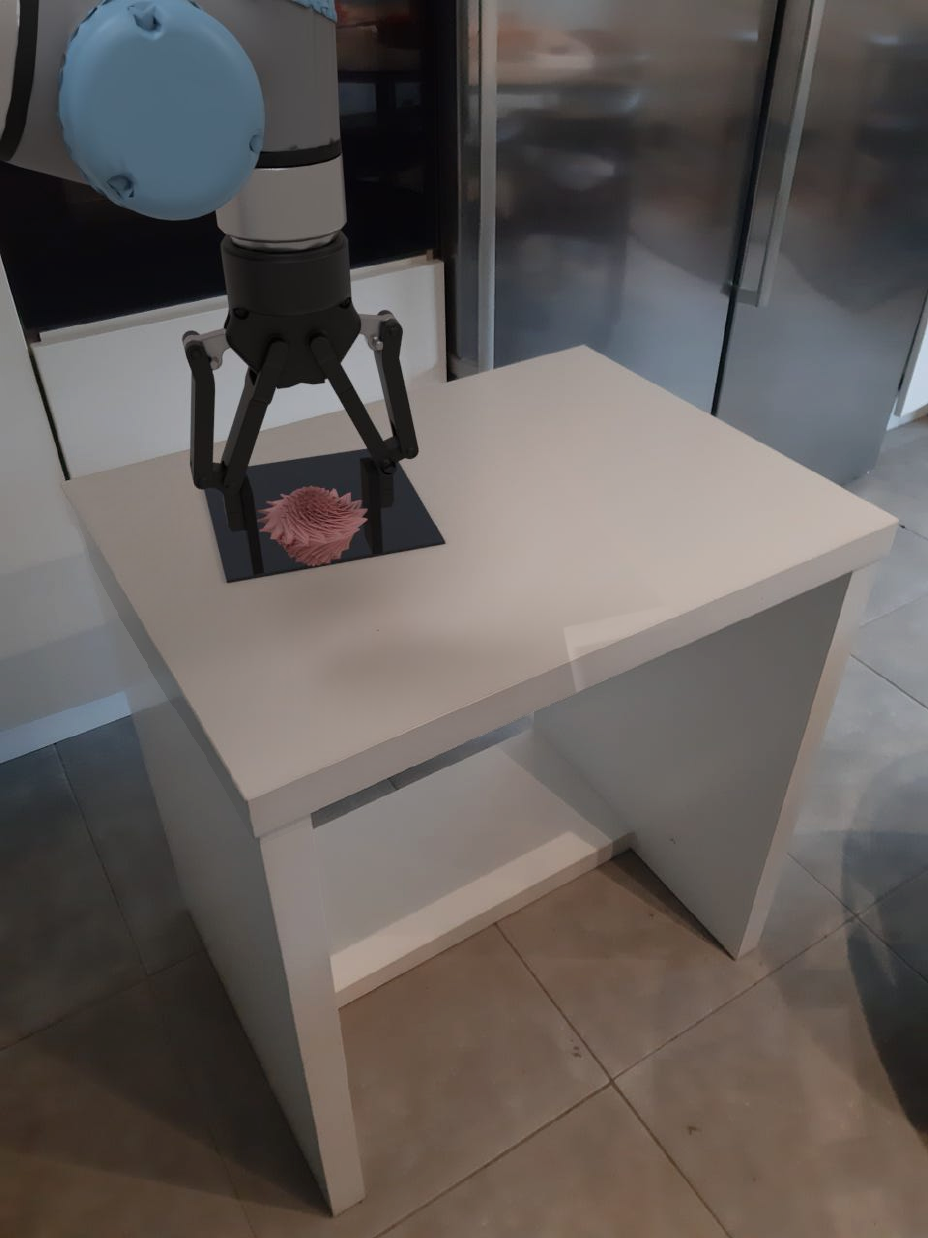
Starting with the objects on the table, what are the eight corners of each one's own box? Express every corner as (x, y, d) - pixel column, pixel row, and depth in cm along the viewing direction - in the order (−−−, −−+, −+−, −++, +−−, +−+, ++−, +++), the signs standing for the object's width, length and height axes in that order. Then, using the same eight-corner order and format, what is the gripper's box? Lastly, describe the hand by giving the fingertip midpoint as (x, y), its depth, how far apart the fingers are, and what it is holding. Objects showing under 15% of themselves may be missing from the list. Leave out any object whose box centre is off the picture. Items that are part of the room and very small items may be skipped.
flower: (254, 589, 68) (244, 521, 65) (268, 528, 75) (259, 463, 71) (368, 587, 69) (364, 519, 65) (372, 527, 75) (368, 462, 72)
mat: (226, 582, 86) (226, 580, 85) (200, 475, 101) (200, 473, 100) (445, 543, 91) (445, 540, 90) (389, 447, 106) (389, 444, 105)
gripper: (434, 202, 63) (437, 507, 77) (97, 228, 58) (165, 550, 72) (470, 234, 58) (466, 557, 71) (101, 267, 52) (174, 608, 66)
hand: (315, 553), depth 72 cm, fingers closed on flower, 8 cm apart
